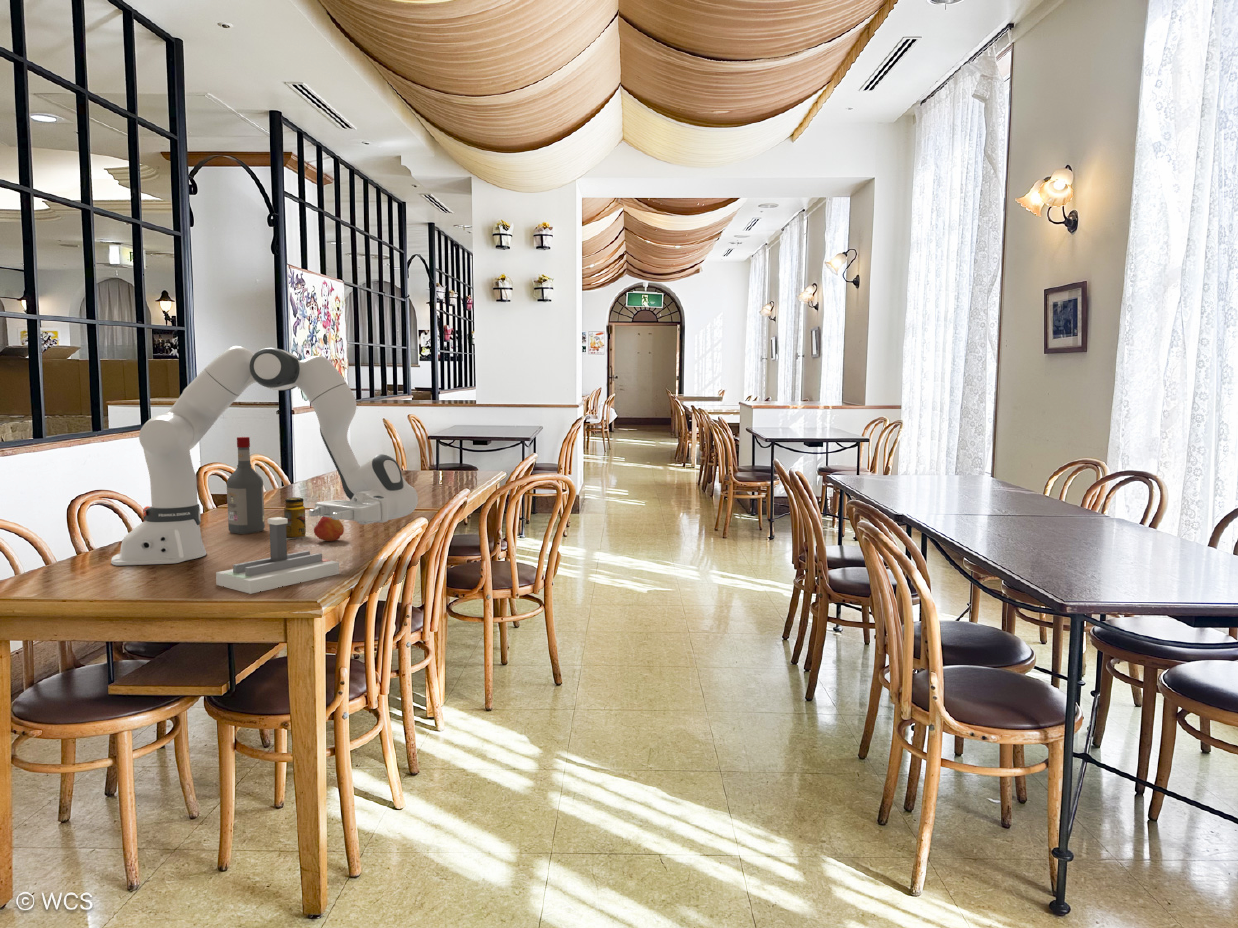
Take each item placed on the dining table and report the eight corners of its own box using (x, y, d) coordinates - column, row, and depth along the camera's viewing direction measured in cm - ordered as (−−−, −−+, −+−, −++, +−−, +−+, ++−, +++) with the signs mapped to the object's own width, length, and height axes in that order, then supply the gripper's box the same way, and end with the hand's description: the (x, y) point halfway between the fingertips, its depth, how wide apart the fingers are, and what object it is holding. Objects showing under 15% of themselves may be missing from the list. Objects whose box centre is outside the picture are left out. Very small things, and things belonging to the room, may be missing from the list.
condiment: (311, 536, 256) (309, 498, 254) (283, 540, 250) (282, 501, 248) (301, 533, 261) (299, 495, 260) (274, 537, 255) (272, 498, 254)
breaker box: (250, 593, 188) (249, 572, 188) (216, 584, 196) (215, 564, 196) (339, 573, 208) (338, 554, 208) (305, 566, 216) (304, 547, 215)
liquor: (242, 535, 257) (238, 438, 254) (225, 531, 262) (221, 437, 259) (268, 530, 265) (264, 437, 262) (251, 527, 270) (247, 436, 267)
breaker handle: (278, 568, 200) (276, 520, 198) (269, 566, 202) (267, 518, 200) (289, 566, 202) (287, 518, 201) (280, 564, 204) (278, 516, 203)
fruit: (321, 538, 253) (320, 512, 252) (347, 538, 253) (346, 512, 252) (311, 543, 245) (310, 516, 245) (338, 543, 245) (337, 517, 244)
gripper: (340, 493, 228) (296, 499, 216) (390, 498, 216) (346, 505, 205) (341, 515, 228) (297, 523, 217) (391, 522, 217) (347, 530, 206)
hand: (321, 514), depth 211 cm, fingers open, 8 cm apart
